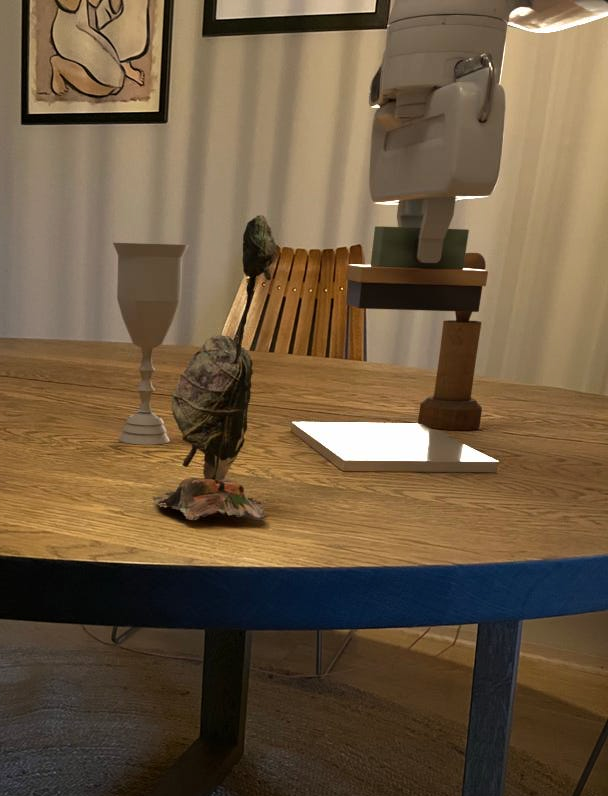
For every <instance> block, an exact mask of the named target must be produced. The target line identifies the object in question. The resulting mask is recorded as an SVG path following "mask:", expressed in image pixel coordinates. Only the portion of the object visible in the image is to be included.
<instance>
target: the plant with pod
mask: <svg viewBox="0 0 608 796" xmlns="http://www.w3.org/2000/svg"><path fill="white" fill-rule="evenodd" d="M272 233H273V232H272V228H271V227H270V226H269V225H268V220H267V217H265V216H264V215H263V214H259V215H256V216H255V217H253V218H252V219H251V220H248V222H247V223H246V226H245V230H244V232H243V235H242V267H243V271H242V272H243V273H244V275H245V277H248V279H247V285H246V288H245V289H246V295H247V296H246V303H245V308H244V312H243V316H242V319H241V324H240V329H239V335H236V334H234V336H235V338H238V341H236V340H234V339H232V337H231V336H228V335H224V334H223V335H222V334H219V335H217V334H216V335H212V336H210V338H208V339H207V340H205V342H204V343H203V344H202V346H200V347H199V348H198V349H197V351H196V352H195V354H193V357H192V359H191V360H190V361H189V363H188V364H187V366H186V369H185V370H184V371H183V372H182V373H181V374H180V377H179V379H178V380H177V382H176V384H175V387H174V391H173V393H172V398H171V399H172V401H171V412H172V416H173V418H174V421H175V422H176V425H177V427H178V430H179V431H180V432H181V434H182V438H181V439H182V441H185V442H186V443H189V444H190V445H191V449H190V451H189V452H188V454H187V455H186V456H185V457H184V458H183V461H182V462H183V463H182V464H181V466H182V467H184V468H188V467H189V465H190V464H191V462H192V460H193V459H194V457H195V455H196V454H197V450H198V451H200V452H202V453H203V454H204V457H203V461H204V464H203V470H202V473H203V478H201V477H200V478H198V477H190V478H184V479H183V480H182V481H181V482H180V483H179V485H178V487H177V488H176V490H175V491H170V492H165V494H164V495H162V496H156V497H155V496H152V501H154V503H155V504H156V505H157V506H159V507H160V508H162V507H163V508H166V509H167V508H170V507H171V509H174V510H179V511H180V512H181V513H182V514H183V515H184V516H185V519H187V520H191V521H196V520H200V517H202V518H203V517H204V518H206V517H209V516H210V515H213V514H216V513H220V514H222V515H225V513H226V514H227V515H228V516H233V515H235V516H236V517H237V518H240V517H243V518H246V517H249V518H252V519H254V520H261V521H262V520H264V519H266V518H269V515H268V514H267V513H265V510H264V506H265V505H264V504H262V503H261V501H257V499H254V497H247V496H246V493H245V487H244V484H243V483H241V482H239V481H237V480H234V479H229V478H226V475H227V473H228V472H229V469H230V468H231V466H232V465H233V463H234V462H235V460H236V459H237V457H238V455H239V453H240V452H241V449H242V448H243V446H244V443H245V434H246V432H247V430H248V410H249V403H250V401H251V394H252V393H251V392H252V391H251V388H252V376H253V374H254V370H253V360H252V359H251V355H250V353H249V351H248V350H246V348H245V347H243V346H242V345H243V344H242V343H243V339H244V335H245V327H246V324H247V320H248V319H247V318H248V313H249V311H250V308H251V301H252V296H253V292H254V289H255V286H256V281H257V277H258V276H260V275H262V274H263V275H264V278H265V279H266V281H270V280H272V275H271V272H270V266H271V265H272V264H273V262H275V260H276V257H277V244H276V241H275V237H274V236H273V234H272Z"/></svg>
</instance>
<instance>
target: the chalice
mask: <svg viewBox="0 0 608 796" xmlns="http://www.w3.org/2000/svg"><path fill="white" fill-rule="evenodd" d="M112 245H113V247H114V249H115V251H116V254H117V289H116V291H117V293H116V299H117V303H118V306H119V310H120V313H121V317H122V320H123V323H124V325H125V327H126V330H127V332H128V336H129V337H130V340H131V342H132V344H133V345H135V346H136V347H138V348H140V350H141V356H142V358H141V363H140V366H139V368H138V369H137V370H138V372H139V373H140V377H141V381H140V385H139V386H138V387H137V388H136V390H137V392H138V393H139V396H140V405H139V409H137V410H136V411H137V413H135V414H131V415H130V416H128V418H127V419H126V421H125V425H124V426H123V428H122V433H121V434H120V436H119V437H118V441H119V442H122V443H124V444H125V443H126V444H132V445H140V446H141V445H144V446H145V445H146V446H148V445H149V446H150V445H151V446H152V445H154V446H155V445H163V444H168V443H170V442H171V441H170V438H169V436H168V435H167V429H166V427H165V425H164V424H165V422H164V420H163V419H162V417H161V416H159V415H156V414H155V413H153V412H154V410H153V409H152V406H151V399H152V394H153V393H154V392H156V389H155V388H154V386H153V383H152V377H153V373H154V372H155V371H156V369H155V367H154V365H153V358H152V357H153V353H154V349H155V348H157V347H160V346H161V345H163V343H164V341H165V340H166V337H167V335H168V333H169V331H170V329H171V327H172V325H173V323H174V321H175V318H176V315H177V312H178V309H179V306H180V304H181V301H182V283H183V258H184V256H185V254H186V252H187V250H188V247H189V244H175V243H174V244H171V243H140V242H139V243H138V242H137V243H136V242H112Z"/></svg>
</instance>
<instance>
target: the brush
mask: <svg viewBox="0 0 608 796" xmlns="http://www.w3.org/2000/svg"><path fill="white" fill-rule="evenodd" d="M420 229H421V228H412V227H398V226H383V225H382V226H381V225H378V226H377V225H375V226H374V230H373V231H374V233H373V240H372V250H371V256H370V257H371V258H370V264H346V272H345V280H346V281H348V282H347V291H346V300H345V306H349V307H353V308H356V309H359V310H360V309H362V310H363V309H364V310H392V311H393V310H398V311H425V312H427V311H428V312H429V311H433V312H455V311H460V312H472V313H479V312H480V306H481V298H482V292H483V287H486V286H487V281H488V276H489V275H488V274H489V270H487V269H485V270H478V269H469V268H464V261H465V254H466V253H467V247H468V240H469V233H470V229H465V228H463V229H462V228H448V230H447V233H446V235H445V238H444V239H443V246H442V254H441V259H440V261H438V262H437V263H420V262H416V261H415V260H414V258H413V255H414V251H415V249H414V247H415V239H419V234H420Z"/></svg>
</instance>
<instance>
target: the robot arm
mask: <svg viewBox="0 0 608 796" xmlns="http://www.w3.org/2000/svg"><path fill="white" fill-rule="evenodd" d="M607 16H608V0H394V3H393V6H392V9H391V12H390V14H389V17H388V21H387V28H386V29H387V30H386V37H385V48H384V51H383V54H382V59H381V63H380V66H379V67H378V69H377V71H376V73H375V74H374V76H373V77H372V79H371V82H370V86H369V93H368V105H369V107H371V108H377V109H376V110H375V112H374V114H373V119H372V124H371V135H370V136H371V137H370V151H369V155H370V156H369V173H368V185H369V187H368V188H369V193H370V198H371V201H372V203H373V204H377V205H378V204H379V205H397V211H396V212H397V213H396V220H397V221H396V222H397V227H412V228H421V229H420V234H419V239H415V247H414V249H415V251H414V255H413V258H414V260H415V261H416V262H420V263H437V262H438V261H440V259H441V254H442V246H443V239H444V238H445V235H446V233H447V230H448V229H450V228H449V227H450V225H451V223H452V220H453V218H454V216H455V215H454V214H455V207H456V201H457V200H464V199H465V200H466V199H477V198H486V197H487V198H488V197H490V196H491V195H492V194H493V193H494V191H495V188H496V186H497V184H498V181H499V178H500V174H501V167H502V158H503V157H502V156H503V149H504V148H503V146H504V137H505V125H506V123H505V122H506V92H505V89H504V87H503V86H502V84H501V78H502V72H503V65H504V57H505V50H506V44H507V43H506V42H507V36H508V30H509V27H510V28H514V29H518V30H522V31H527V32H533V33H541V34H542V33H552V32H553V33H554V32H557V31H561V30H564V29H568V28H571V27H574V26H577V25H583V24H586V23H589V22H592V21H595V20H598V19H602V18H604V17H607Z"/></svg>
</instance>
